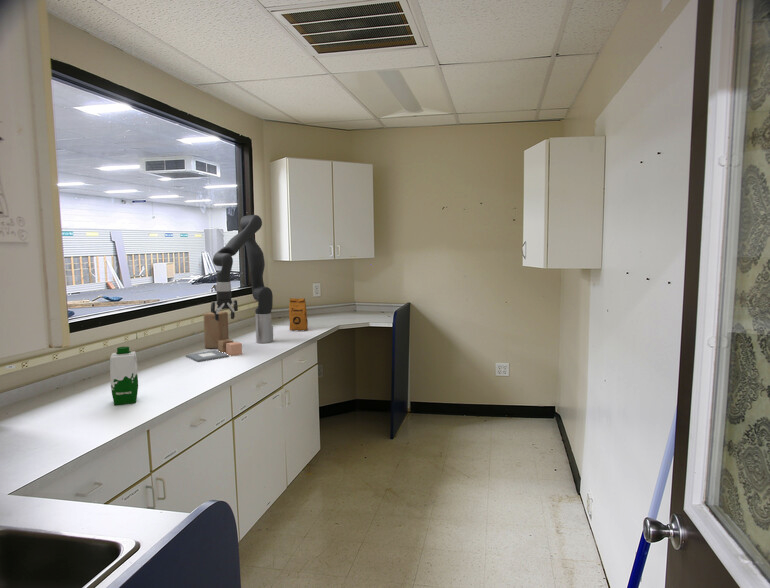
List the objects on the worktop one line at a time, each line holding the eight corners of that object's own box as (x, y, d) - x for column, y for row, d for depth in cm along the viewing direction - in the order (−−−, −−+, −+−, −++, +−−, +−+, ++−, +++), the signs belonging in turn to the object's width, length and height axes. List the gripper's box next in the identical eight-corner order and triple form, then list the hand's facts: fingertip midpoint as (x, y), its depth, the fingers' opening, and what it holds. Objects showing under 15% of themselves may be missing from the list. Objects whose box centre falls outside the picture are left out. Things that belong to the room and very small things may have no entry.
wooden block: (220, 349, 271) (219, 313, 269) (204, 348, 273) (202, 313, 271) (229, 345, 281) (228, 311, 279) (213, 345, 283) (212, 311, 281)
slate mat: (215, 352, 264) (215, 350, 264) (228, 356, 253) (228, 354, 253) (185, 356, 254) (185, 354, 254) (198, 361, 242) (197, 359, 242)
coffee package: (305, 331, 326) (304, 299, 323) (287, 331, 327) (286, 298, 325) (309, 329, 335) (309, 297, 333) (292, 328, 337) (291, 297, 335)
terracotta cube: (237, 352, 263) (236, 341, 263) (242, 354, 259) (241, 343, 258) (226, 354, 259) (226, 343, 259) (231, 356, 255) (231, 345, 254)
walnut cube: (228, 349, 271) (228, 339, 270) (233, 351, 266) (233, 340, 266) (218, 351, 267) (218, 340, 266) (223, 353, 262) (222, 342, 262)
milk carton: (139, 396, 187) (136, 345, 185) (138, 403, 178) (135, 350, 176) (113, 399, 183) (110, 347, 181) (110, 406, 175) (107, 352, 173)
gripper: (233, 289, 271) (234, 317, 272) (208, 290, 261) (209, 320, 263) (239, 289, 265) (240, 319, 267) (213, 291, 256) (215, 322, 257)
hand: (224, 319), depth 265 cm, fingers open, 8 cm apart
